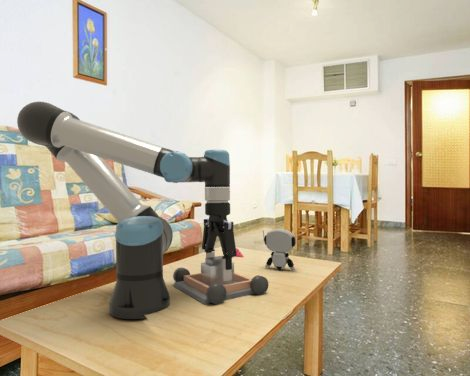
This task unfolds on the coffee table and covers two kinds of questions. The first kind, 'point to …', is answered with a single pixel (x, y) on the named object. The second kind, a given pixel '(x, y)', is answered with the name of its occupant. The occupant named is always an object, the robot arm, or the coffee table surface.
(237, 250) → the toy pieces
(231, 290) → the chassis
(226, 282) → the block
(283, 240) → the robot toy
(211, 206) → the robot arm
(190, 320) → the coffee table surface
